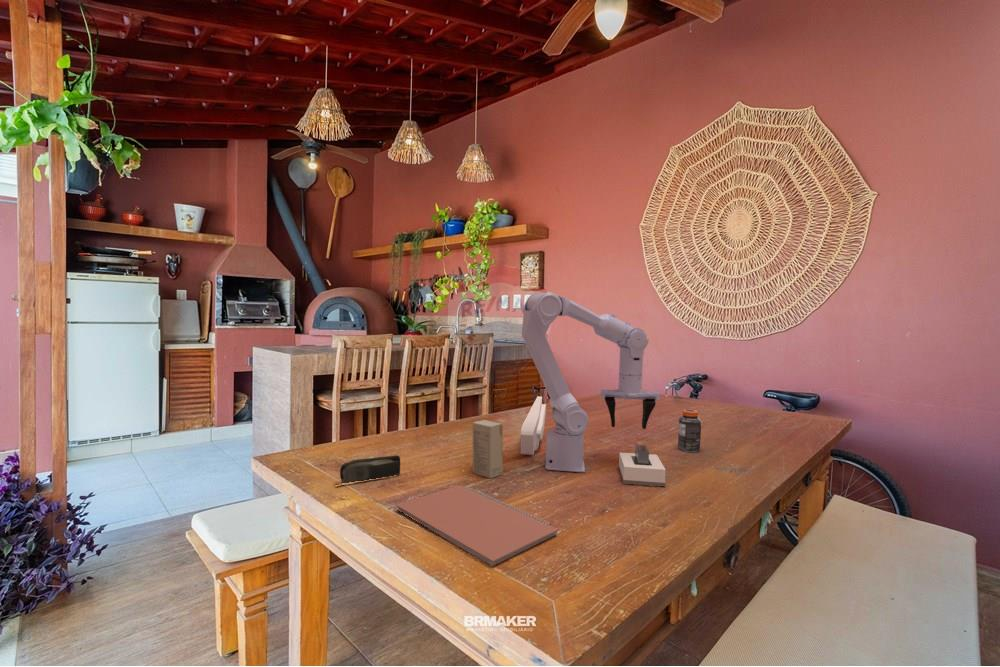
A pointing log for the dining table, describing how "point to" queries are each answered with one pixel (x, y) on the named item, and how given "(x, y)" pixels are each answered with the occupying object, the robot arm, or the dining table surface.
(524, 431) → the shelf bracket
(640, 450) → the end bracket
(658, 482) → the post block
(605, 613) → the dining table surface
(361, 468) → the black rounded block
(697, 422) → the pill bottle
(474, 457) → the skincare box
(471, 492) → the notebook
